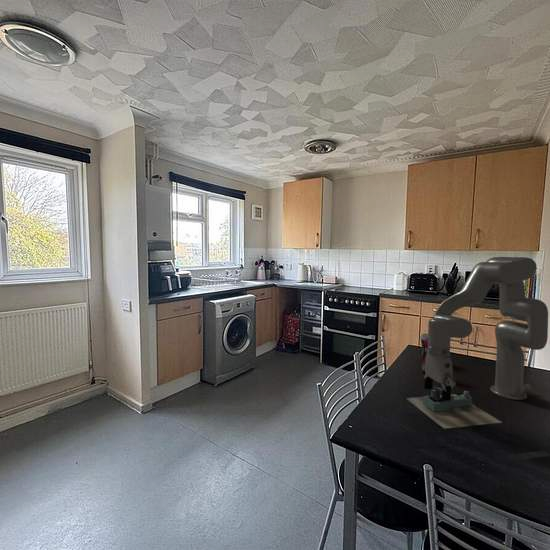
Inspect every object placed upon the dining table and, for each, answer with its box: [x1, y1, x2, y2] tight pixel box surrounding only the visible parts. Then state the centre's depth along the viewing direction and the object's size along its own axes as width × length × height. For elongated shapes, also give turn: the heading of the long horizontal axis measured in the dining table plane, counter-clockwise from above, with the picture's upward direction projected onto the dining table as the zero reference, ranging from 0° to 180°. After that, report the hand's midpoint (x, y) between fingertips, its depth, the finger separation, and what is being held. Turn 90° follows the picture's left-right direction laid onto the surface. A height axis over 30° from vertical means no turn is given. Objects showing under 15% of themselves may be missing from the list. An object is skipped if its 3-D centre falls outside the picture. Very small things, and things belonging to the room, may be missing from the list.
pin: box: [432, 388, 441, 402], centre depth 117 cm, size 3×3×7 cm
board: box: [406, 384, 503, 430], centre depth 116 cm, size 23×22×7 cm
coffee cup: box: [419, 333, 428, 362], centre depth 171 cm, size 10×10×15 cm
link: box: [422, 390, 473, 412], centre depth 118 cm, size 18×6×5 cm, turn 99°
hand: (436, 394), depth 117 cm, fingers open, 9 cm apart
